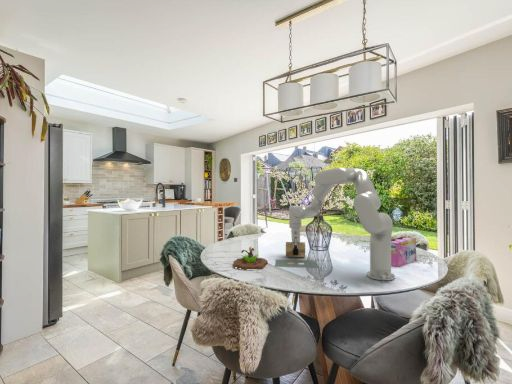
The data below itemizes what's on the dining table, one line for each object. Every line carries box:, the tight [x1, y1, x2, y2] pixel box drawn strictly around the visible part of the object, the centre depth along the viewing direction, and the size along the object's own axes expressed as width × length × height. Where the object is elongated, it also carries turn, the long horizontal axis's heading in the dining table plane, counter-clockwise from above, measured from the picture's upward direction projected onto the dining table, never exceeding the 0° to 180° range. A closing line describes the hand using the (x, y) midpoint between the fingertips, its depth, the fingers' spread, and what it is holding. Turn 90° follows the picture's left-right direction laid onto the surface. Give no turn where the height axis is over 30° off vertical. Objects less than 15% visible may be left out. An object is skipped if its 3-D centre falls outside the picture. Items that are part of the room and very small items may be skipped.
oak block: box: [285, 241, 306, 258], centre depth 172 cm, size 5×12×8 cm, turn 83°
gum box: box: [391, 236, 417, 268], centre depth 160 cm, size 24×8×14 cm, turn 126°
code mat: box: [274, 259, 319, 269], centre depth 159 cm, size 15×24×1 cm, turn 83°
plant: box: [233, 246, 269, 270], centre depth 157 cm, size 20×20×11 cm
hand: (295, 253), depth 173 cm, fingers closed on oak block, 4 cm apart
